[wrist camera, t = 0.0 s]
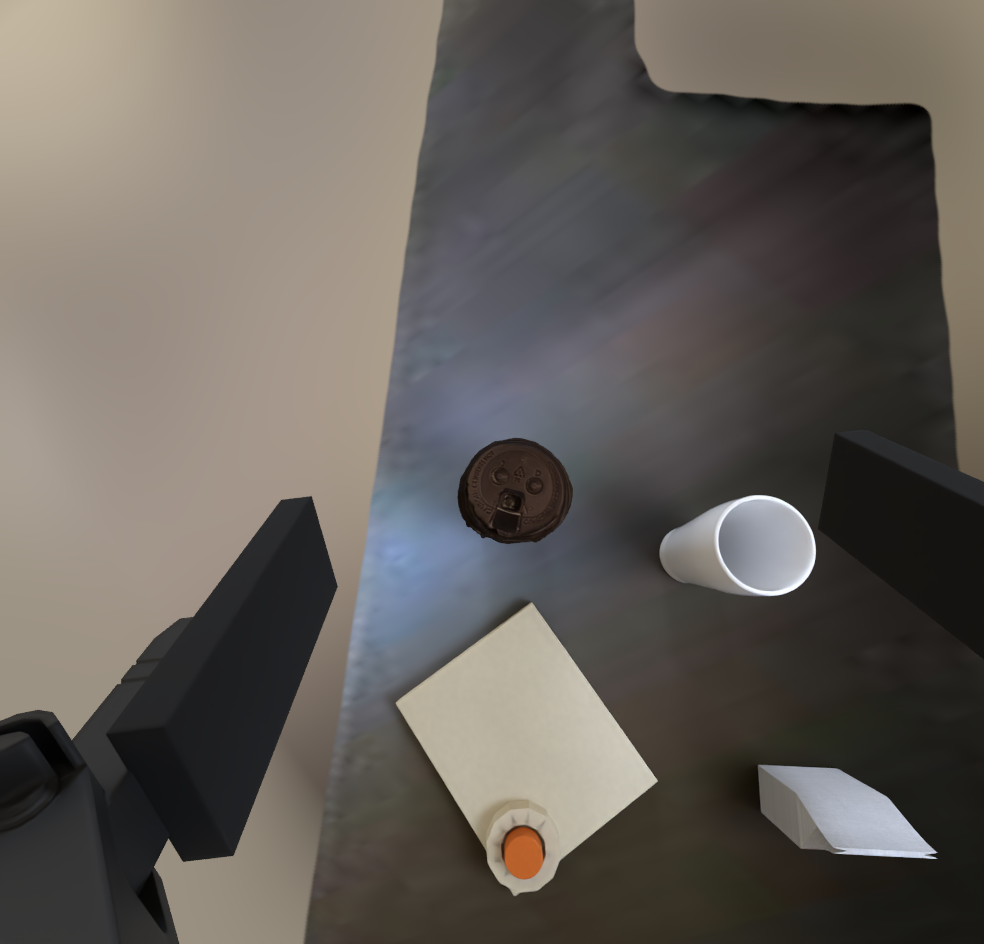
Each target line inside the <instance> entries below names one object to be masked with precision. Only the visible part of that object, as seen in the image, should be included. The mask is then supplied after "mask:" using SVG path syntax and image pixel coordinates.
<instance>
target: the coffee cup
mask: <svg viewBox="0 0 984 944" xmlns="http://www.w3.org/2000/svg"><path fill="white" fill-rule="evenodd" d="M572 497H573V488H572V485H571V482H570V480H569V476H568V474H567V472H566V470H565V468H564V466H563V465H562V464H561V462H560V461H559V460H558V459H557V458H556V457H555V456H554V455H553V454H552V453H551V452H550V451H549V450H547V449H546V448H544V447H543V446H541V445H539V444H538V443H536V442H533V441H529V440H526V439H522V438H512V439H507V440H503V441H495V442H493V443H491V444H490V445H488V446H486V447H484V448H483V449H481V450H480V451H479V452H478V453H477V454H476V455H475V456H474V457H473V459H472V460H471V462H470V463H469V465H468V466H467V468H466V470H465V472H464V473H463V475H462V477H461V479H460V484H459V489H458V497H457V498H458V505H459V508H460V513H461V514H462V518H463V519H464V520H465V522H466V525H467V527H471V528H472V529H473V530H474V531H476V532H477V533H478V534H480V535H481V537H482V538H485V537H489V538H492V539H493V540H495V541H497V542H500V543H506V544H511V543H520V542H529V541H533V542H537V541H540V540H541V539H542V538H545V537H546V536H547V535H548V534H550V533H551V532H553V531H554V530H555V529H556V528H557V527H558V526H559V525H560V524H561V523H562V522H563V520H564V518H565V517H566V515H567V513H568V511H569V508H570V506H571V502H572Z"/></svg>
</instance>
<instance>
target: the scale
mask: <svg viewBox="0 0 984 944" xmlns="http://www.w3.org/2000/svg"><path fill="white" fill-rule="evenodd" d="M396 705H397V707H398V708H399V710H400V711H401V713H402V715H403V716H404V718H405V720H406V721H407V723H408V724H409V726H410V728H411V729H412V731H413V733H414V734H415V736H416V737H417V739H418V741H419V742H420V744H421V746H422V747H423V749H424V750H425V752H426V754H427V755H428V757H429V759H430V760H431V762H432V763H433V765H434V767H435V768H436V770H437V772H438V773H439V775H440V776H441V778H442V780H443V781H444V783H445V785H446V786H447V788H448V789H449V791H450V793H451V794H452V796H453V798H454V799H455V801H456V802H457V804H458V806H459V807H460V809H461V811H462V812H463V814H464V815H465V817H466V819H467V820H468V822H469V824H470V825H471V827H472V828H473V830H474V832H475V833H476V835H477V837H478V838H479V840H480V841H481V843H482V845H483V846H484V848H485V850H486V851H487V862H488V865H489V867H490V868H491V870H492V872H493V873H494V875H495V877H496V878H497V880H498V881H499V882H500V883H501V884H503V885H505V886H506V887H508V888H509V889H510V890H511V892H512V893H513V895H514V896H516V895H518V894H519V893H520V892H530V891H537V890H539V889H540V888H541V887H543V886H544V885H545V884H546V883H547V882H549V881H550V880H551V879H552V878H553V877H554V874H555V872H556V869H557V866H558V864H559V861H560V860H561V859H562V858H563V857H565V856H566V855H567V854H568V853H570V852H571V851H572V850H573V849H575V848H576V847H577V846H578V845H580V844H581V843H582V842H583V841H585V840H586V839H587V838H588V837H589V836H591V835H592V834H593V833H594V832H596V831H597V830H598V829H599V828H601V827H602V826H603V825H604V824H606V823H607V822H608V821H609V820H611V819H612V818H613V817H614V816H616V815H617V814H618V813H619V812H620V811H622V810H623V809H624V808H625V807H627V806H628V805H629V804H630V803H632V802H633V801H634V800H635V799H637V798H638V797H639V796H640V795H642V794H643V793H644V792H645V791H647V790H648V789H649V788H650V787H652V786H653V785H654V784H655V783H656V782H657V779H656V778H655V776H654V775H653V773H652V772H651V771H650V769H649V768H648V766H647V765H646V763H645V762H644V761H643V759H642V758H641V756H640V755H639V753H638V752H637V751H636V749H635V748H634V746H633V745H632V744H631V742H630V741H629V739H628V738H627V736H626V735H625V734H624V732H623V731H622V729H621V728H620V726H619V725H618V724H617V722H616V721H615V719H614V718H613V717H612V715H611V714H610V712H609V711H608V709H607V708H606V707H605V705H604V704H603V702H602V701H601V699H600V698H599V697H598V695H597V694H596V692H595V691H594V690H593V688H592V687H591V685H590V684H589V682H588V681H587V680H586V678H585V677H584V675H583V674H582V672H581V671H580V670H579V668H578V667H577V665H576V664H575V663H574V661H573V660H572V658H571V657H570V655H569V654H568V653H567V651H566V650H565V648H564V647H563V645H562V644H561V643H560V641H559V640H558V638H557V637H556V636H555V634H554V633H553V631H552V630H551V628H550V627H549V626H548V624H547V623H546V621H545V620H544V618H543V617H542V616H541V614H540V613H539V611H538V610H537V609H536V607H535V606H534V604H533V603H532V602H530V603H529V604H528V605H526V606H525V607H524V608H522V609H521V610H520V611H518V612H517V613H516V614H514V615H513V616H511V617H510V618H509V619H507V620H506V621H505V622H503V623H502V624H501V625H499V626H498V627H497V628H495V629H494V630H493V631H491V632H490V633H488V634H487V635H486V636H484V637H483V638H482V639H480V640H479V641H478V642H476V643H475V644H474V645H472V646H471V647H469V648H468V649H467V650H465V651H464V652H463V653H461V654H460V655H459V656H457V657H456V658H455V659H453V660H452V661H450V662H449V663H448V664H446V665H445V666H444V667H442V668H441V669H440V670H438V671H437V672H436V673H434V674H433V675H432V676H430V677H429V678H427V679H426V680H425V681H423V682H422V683H421V684H419V685H418V686H417V687H415V688H414V689H413V690H411V691H410V692H408V693H407V694H406V695H404V696H403V697H402V698H400V699H399V700H398V701H397V702H396ZM519 827H526V828H529V829H531V830H533V831H534V832H535V833H536V834H537V835H538V837H539V839H540V841H541V845H542V853H543V863H542V867H541V869H540V871H539V872H538V873H537V874H536V875H535V876H534V877H532V878H530V879H519V878H516V877H515V876H513V875H512V874H511V873H510V872H509V870H508V869H507V867H506V864H505V841H506V839H507V836H508V835H509V834H510V832H512V831H513V830H514V829H516V828H519Z"/></svg>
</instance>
